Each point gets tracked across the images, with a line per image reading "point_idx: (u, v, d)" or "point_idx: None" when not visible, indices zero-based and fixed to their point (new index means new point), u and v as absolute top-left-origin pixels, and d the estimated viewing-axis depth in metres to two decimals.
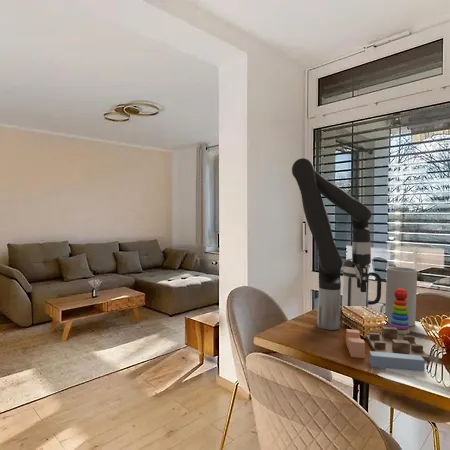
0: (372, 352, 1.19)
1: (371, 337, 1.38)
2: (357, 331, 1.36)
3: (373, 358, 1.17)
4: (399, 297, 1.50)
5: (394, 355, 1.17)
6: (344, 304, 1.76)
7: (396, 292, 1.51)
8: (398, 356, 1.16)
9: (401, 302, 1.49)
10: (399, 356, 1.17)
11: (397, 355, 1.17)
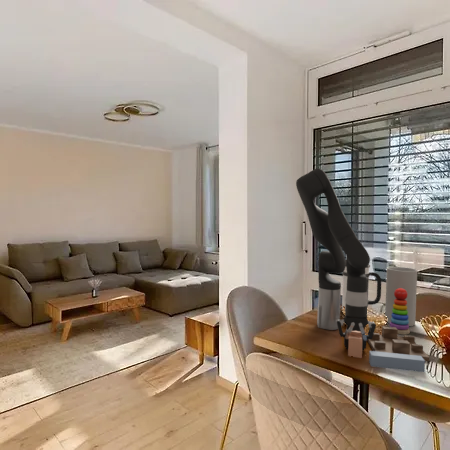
0: (372, 352, 1.20)
1: None
2: (359, 331, 1.35)
3: (373, 358, 1.17)
4: (399, 297, 1.50)
5: (394, 355, 1.17)
6: (344, 304, 1.76)
7: (396, 292, 1.51)
8: (398, 356, 1.16)
9: (401, 302, 1.49)
10: (398, 356, 1.17)
11: (397, 355, 1.17)
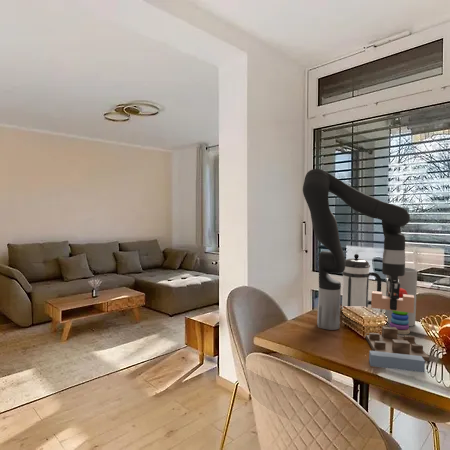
0: (372, 351, 1.20)
1: (371, 337, 1.38)
2: (377, 291, 1.35)
3: (372, 357, 1.17)
4: (399, 297, 1.50)
5: (394, 355, 1.17)
6: (344, 304, 1.76)
7: None
8: (397, 356, 1.16)
9: None
10: (398, 356, 1.17)
11: (397, 355, 1.17)
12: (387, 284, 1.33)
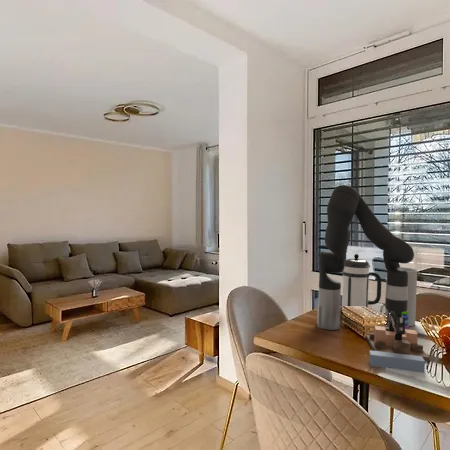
0: (372, 351, 1.20)
1: (371, 337, 1.38)
2: (380, 326, 1.36)
3: (372, 357, 1.17)
4: None
5: (394, 355, 1.17)
6: (344, 304, 1.76)
7: None
8: (397, 356, 1.16)
9: None
10: (398, 356, 1.17)
11: (397, 355, 1.17)
12: (389, 318, 1.35)
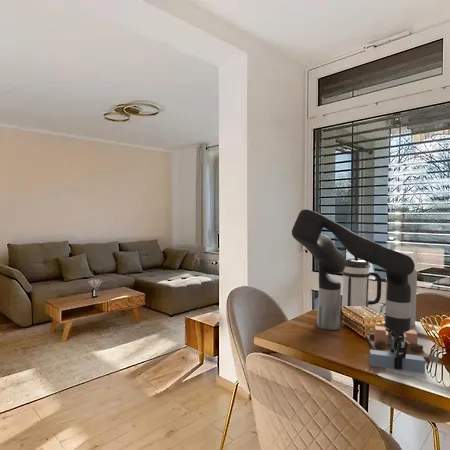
0: (372, 350, 1.20)
1: (371, 337, 1.38)
2: (380, 326, 1.36)
3: (372, 356, 1.17)
4: None
5: None
6: (344, 304, 1.76)
7: None
8: None
9: None
10: None
11: None
12: (390, 338, 1.18)
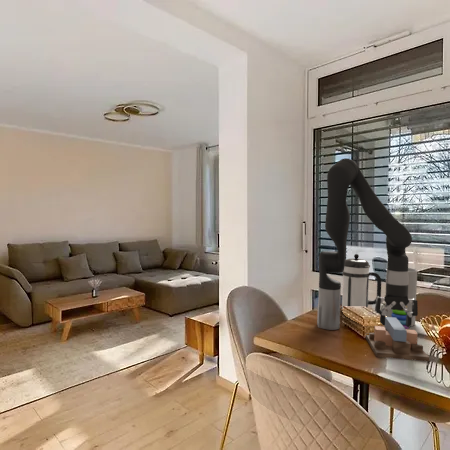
0: (393, 317, 1.40)
1: (371, 337, 1.38)
2: (380, 326, 1.36)
3: (385, 319, 1.41)
4: None
5: (395, 322, 1.33)
6: (344, 304, 1.76)
7: None
8: (392, 323, 1.33)
9: None
10: (394, 323, 1.32)
11: (396, 323, 1.32)
12: None
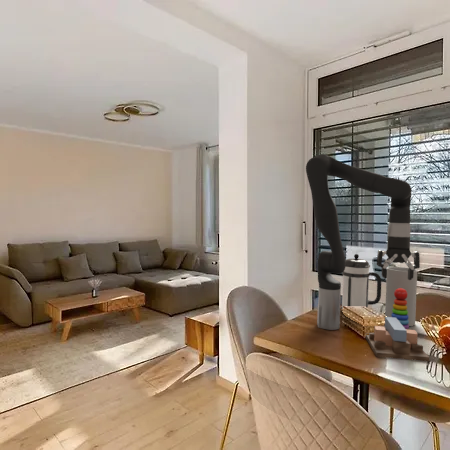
0: (393, 317, 1.40)
1: (371, 337, 1.38)
2: (380, 326, 1.36)
3: (385, 319, 1.41)
4: (399, 297, 1.50)
5: (395, 322, 1.33)
6: (344, 304, 1.76)
7: (396, 292, 1.51)
8: (392, 323, 1.33)
9: (401, 302, 1.49)
10: (394, 323, 1.32)
11: (396, 323, 1.32)
12: None
